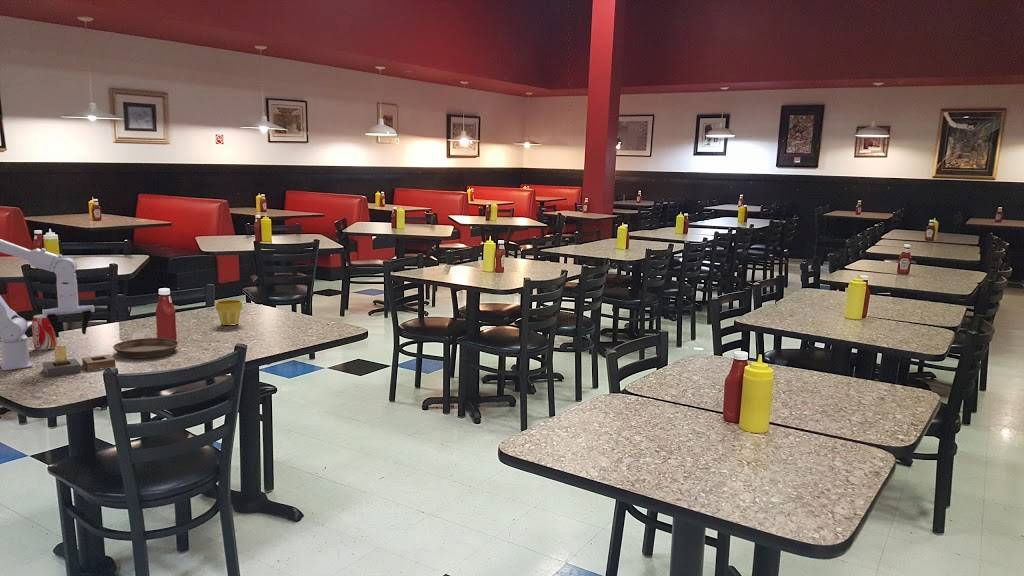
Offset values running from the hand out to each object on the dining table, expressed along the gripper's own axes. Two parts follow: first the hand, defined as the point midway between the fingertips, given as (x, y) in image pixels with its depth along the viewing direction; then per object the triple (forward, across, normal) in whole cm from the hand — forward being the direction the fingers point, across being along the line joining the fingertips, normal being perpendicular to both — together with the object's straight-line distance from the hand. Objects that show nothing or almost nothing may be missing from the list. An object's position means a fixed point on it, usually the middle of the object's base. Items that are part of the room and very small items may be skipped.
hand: (70, 335), depth 239 cm
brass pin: (+9, -4, -9) cm, 14 cm away
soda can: (+10, -4, +25) cm, 27 cm away
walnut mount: (+9, +6, -9) cm, 14 cm away
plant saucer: (+10, +23, +1) cm, 25 cm away
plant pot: (+10, +62, +29) cm, 69 cm away
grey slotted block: (+9, -4, -9) cm, 14 cm away
